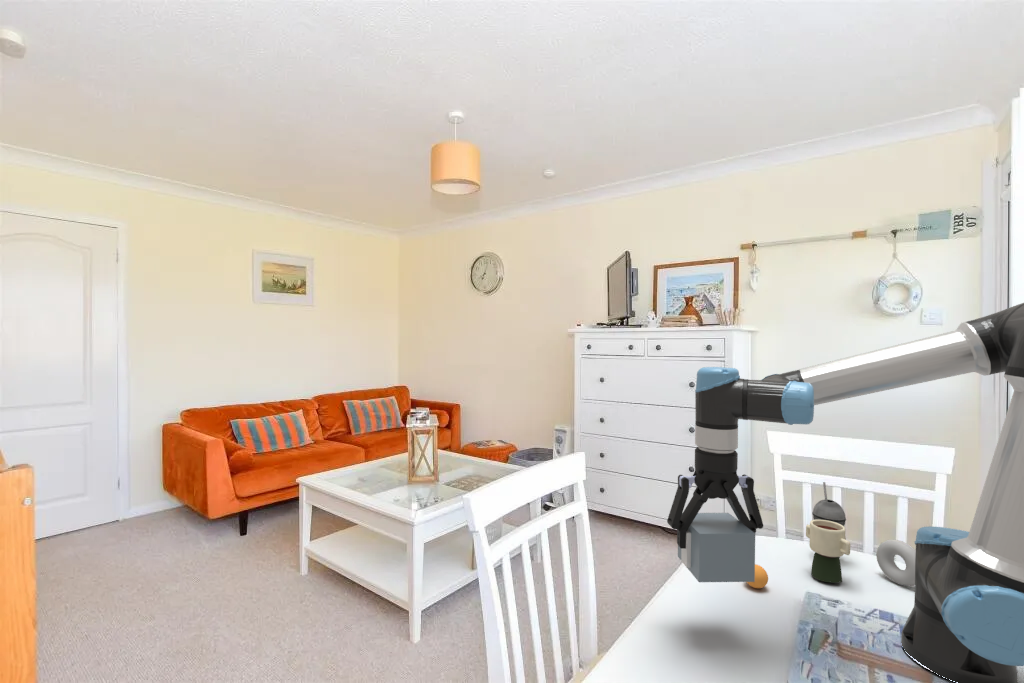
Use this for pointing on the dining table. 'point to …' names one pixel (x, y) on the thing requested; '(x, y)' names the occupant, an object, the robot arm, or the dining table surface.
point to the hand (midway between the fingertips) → (714, 564)
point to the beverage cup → (829, 510)
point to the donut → (888, 565)
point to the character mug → (827, 549)
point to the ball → (759, 577)
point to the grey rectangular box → (721, 549)
